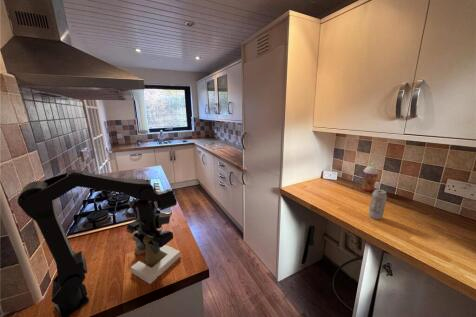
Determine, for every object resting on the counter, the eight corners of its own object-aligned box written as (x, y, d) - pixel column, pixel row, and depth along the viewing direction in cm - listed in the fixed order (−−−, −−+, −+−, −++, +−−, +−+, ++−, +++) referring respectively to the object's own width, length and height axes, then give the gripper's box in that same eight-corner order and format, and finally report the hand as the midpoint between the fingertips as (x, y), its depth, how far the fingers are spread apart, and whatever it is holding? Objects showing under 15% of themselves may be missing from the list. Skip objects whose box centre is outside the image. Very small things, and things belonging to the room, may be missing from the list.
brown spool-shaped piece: (141, 257, 77) (139, 241, 75) (131, 250, 80) (128, 235, 78) (156, 246, 83) (154, 231, 81) (145, 240, 86) (143, 226, 84)
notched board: (150, 284, 65) (149, 278, 65) (131, 272, 70) (130, 267, 69) (180, 256, 77) (179, 251, 76) (163, 248, 82) (162, 243, 81)
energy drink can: (384, 219, 100) (390, 192, 96) (376, 221, 98) (381, 194, 94) (373, 213, 105) (378, 188, 101) (365, 215, 104) (370, 189, 100)
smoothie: (357, 188, 136) (361, 161, 131) (366, 186, 138) (371, 160, 133) (368, 193, 128) (373, 164, 123) (377, 191, 131) (383, 163, 125)
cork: (157, 251, 78) (153, 227, 75) (165, 258, 74) (162, 234, 71) (142, 260, 73) (138, 235, 71) (150, 268, 70) (146, 242, 67)
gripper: (182, 210, 71) (186, 246, 75) (149, 199, 80) (154, 231, 84) (157, 226, 62) (162, 266, 66) (122, 211, 70) (129, 247, 75)
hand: (152, 251), depth 73 cm, fingers closed on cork, 4 cm apart
